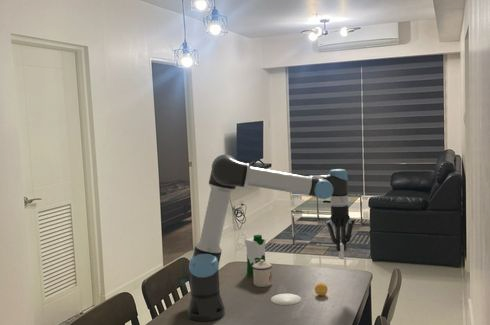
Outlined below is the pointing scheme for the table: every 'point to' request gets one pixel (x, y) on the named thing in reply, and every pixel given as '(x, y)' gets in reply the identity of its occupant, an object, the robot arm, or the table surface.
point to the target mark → (286, 299)
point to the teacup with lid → (262, 274)
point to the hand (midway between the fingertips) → (341, 258)
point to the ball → (321, 289)
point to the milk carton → (254, 251)
